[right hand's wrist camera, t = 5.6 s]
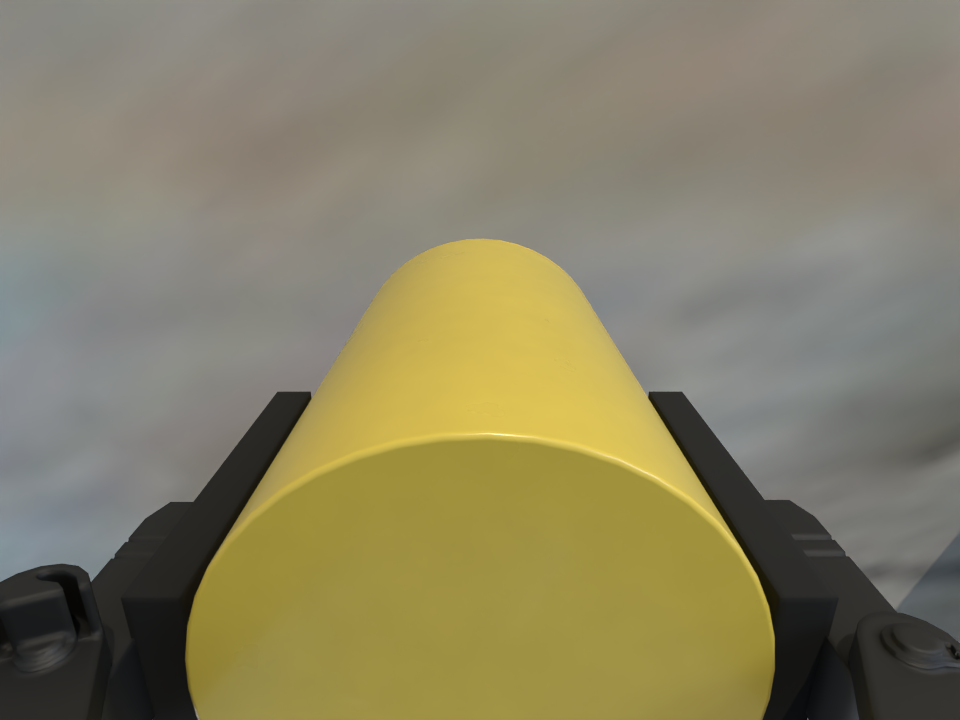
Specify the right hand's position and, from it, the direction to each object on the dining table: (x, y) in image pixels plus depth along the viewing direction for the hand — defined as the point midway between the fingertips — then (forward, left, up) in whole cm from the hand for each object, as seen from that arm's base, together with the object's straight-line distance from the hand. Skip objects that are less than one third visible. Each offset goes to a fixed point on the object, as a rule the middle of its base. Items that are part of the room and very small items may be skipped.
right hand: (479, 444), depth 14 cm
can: (0, 0, -6) cm, 6 cm away
